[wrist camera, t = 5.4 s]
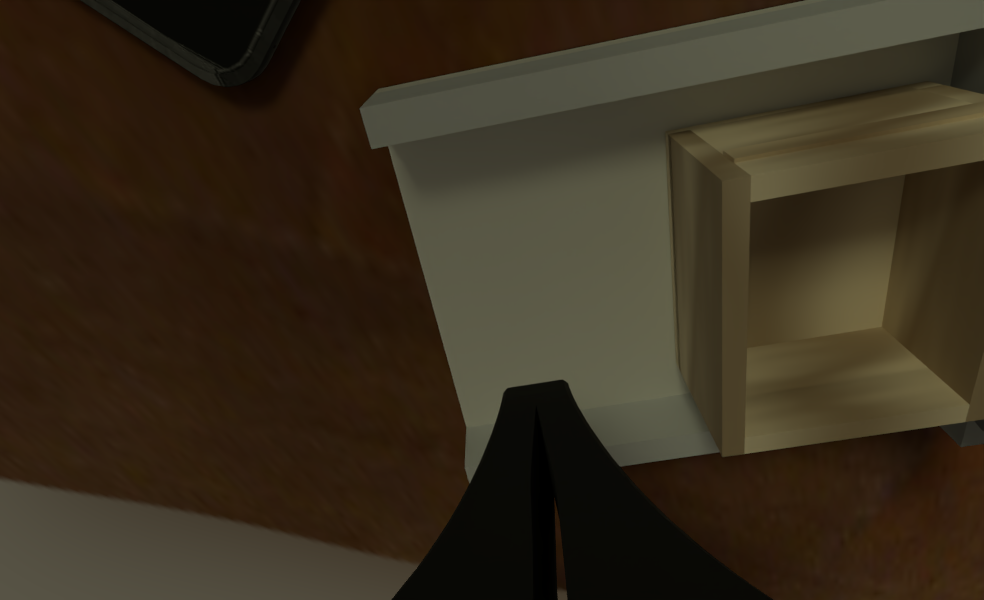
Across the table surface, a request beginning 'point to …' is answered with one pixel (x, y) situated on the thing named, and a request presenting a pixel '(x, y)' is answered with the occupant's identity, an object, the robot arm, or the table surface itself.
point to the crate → (831, 267)
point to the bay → (616, 195)
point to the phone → (207, 32)
